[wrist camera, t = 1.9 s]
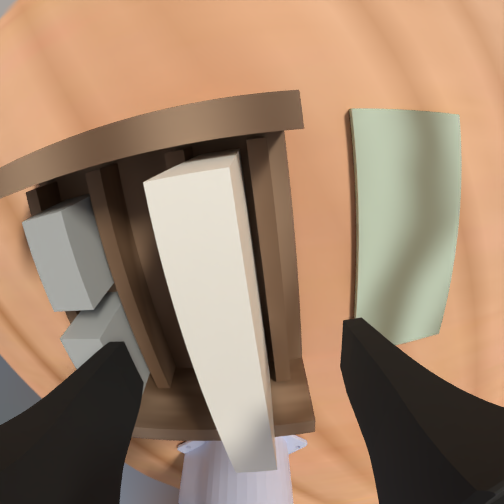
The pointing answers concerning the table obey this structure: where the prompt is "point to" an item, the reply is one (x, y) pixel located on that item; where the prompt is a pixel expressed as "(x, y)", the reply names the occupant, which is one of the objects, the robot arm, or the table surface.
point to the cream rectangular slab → (218, 297)
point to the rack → (261, 233)
